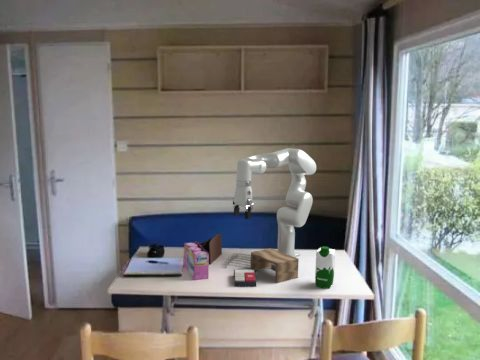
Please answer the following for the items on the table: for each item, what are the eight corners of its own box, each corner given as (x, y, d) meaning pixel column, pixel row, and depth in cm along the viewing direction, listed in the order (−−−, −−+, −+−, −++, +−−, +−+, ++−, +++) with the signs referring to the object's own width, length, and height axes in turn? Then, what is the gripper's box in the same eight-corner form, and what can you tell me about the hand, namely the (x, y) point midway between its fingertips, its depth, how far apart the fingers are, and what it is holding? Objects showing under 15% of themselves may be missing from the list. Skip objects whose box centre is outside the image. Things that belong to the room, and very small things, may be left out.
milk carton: (313, 286, 229) (314, 247, 226) (317, 280, 237) (319, 242, 234) (330, 289, 225) (332, 250, 222) (335, 283, 233) (337, 245, 230)
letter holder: (222, 254, 277) (222, 231, 275) (210, 265, 258) (210, 240, 256) (206, 252, 280) (206, 230, 278) (193, 263, 261) (193, 238, 259)
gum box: (182, 265, 256) (182, 241, 254) (196, 264, 259) (196, 240, 257) (194, 280, 234) (194, 254, 232) (209, 278, 237) (209, 253, 235)
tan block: (270, 265, 258) (270, 248, 257) (297, 277, 240) (298, 258, 239) (250, 270, 250) (250, 252, 248) (277, 283, 232) (277, 263, 231)
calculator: (234, 280, 226) (233, 268, 241) (234, 288, 227) (233, 276, 242) (256, 280, 227) (254, 268, 241) (256, 288, 228) (254, 276, 242)
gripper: (259, 185, 231) (258, 219, 233) (239, 181, 245) (238, 213, 247) (247, 186, 226) (245, 220, 228) (227, 181, 240) (226, 214, 242)
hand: (241, 216), depth 238 cm, fingers open, 9 cm apart
